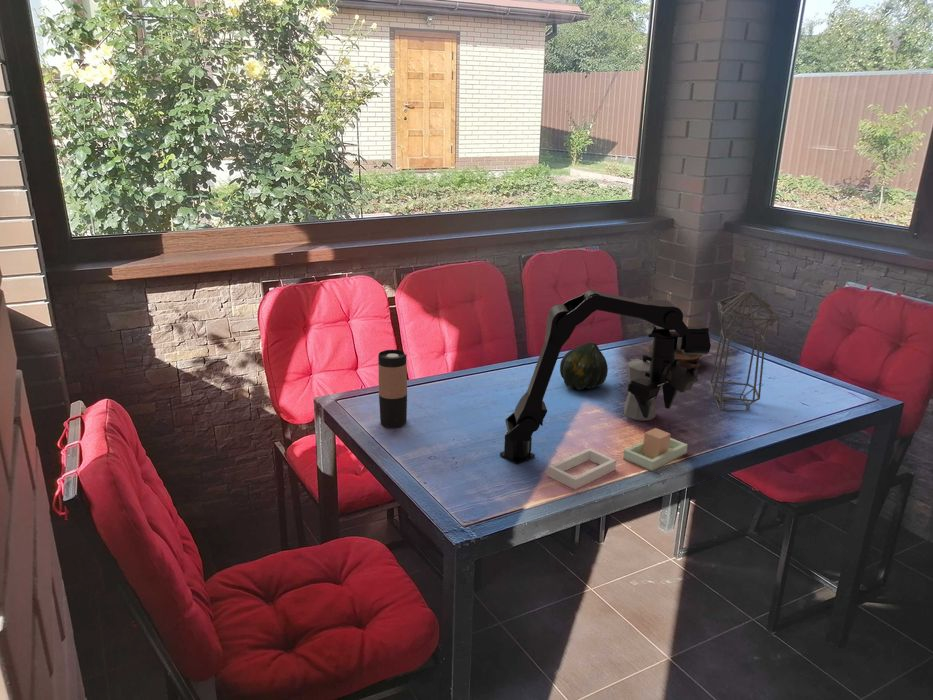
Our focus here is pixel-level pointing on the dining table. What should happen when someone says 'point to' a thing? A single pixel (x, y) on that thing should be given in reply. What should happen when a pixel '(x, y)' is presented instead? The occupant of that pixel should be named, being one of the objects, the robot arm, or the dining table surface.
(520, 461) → the robot arm
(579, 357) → the squash
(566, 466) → the grey bin
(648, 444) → the tan block
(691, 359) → the dish
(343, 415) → the dining table surface
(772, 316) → the geometric lantern
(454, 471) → the dining table surface
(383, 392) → the travel mug
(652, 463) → the green bin
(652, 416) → the coffeepot
